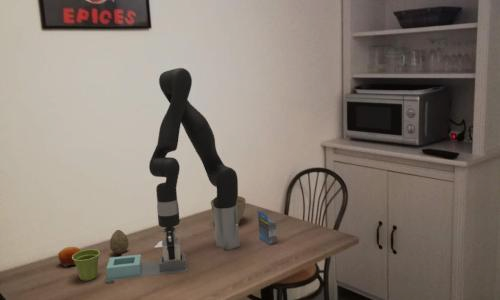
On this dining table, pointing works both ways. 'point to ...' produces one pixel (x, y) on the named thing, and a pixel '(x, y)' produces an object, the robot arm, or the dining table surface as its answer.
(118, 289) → the dining table surface
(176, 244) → the plug
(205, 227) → the dining table surface
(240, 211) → the planter bowl
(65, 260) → the fruit
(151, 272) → the panel
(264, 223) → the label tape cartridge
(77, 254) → the plant pot
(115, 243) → the decorative egg
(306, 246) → the dining table surface
